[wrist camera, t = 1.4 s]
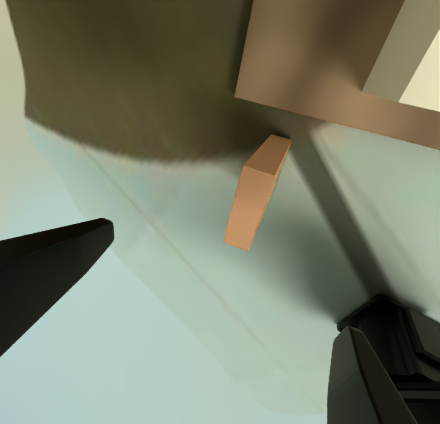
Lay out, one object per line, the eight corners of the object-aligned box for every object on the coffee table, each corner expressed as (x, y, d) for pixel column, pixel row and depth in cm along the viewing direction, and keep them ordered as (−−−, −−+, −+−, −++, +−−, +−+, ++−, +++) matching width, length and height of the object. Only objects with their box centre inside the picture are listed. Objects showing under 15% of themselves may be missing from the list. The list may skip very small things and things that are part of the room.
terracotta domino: (291, 139, 17) (274, 175, 11) (271, 196, 20) (248, 251, 14) (271, 134, 18) (242, 165, 11) (254, 190, 20) (223, 241, 14)
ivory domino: (454, -20, 11) (663, -176, 4) (390, 98, 13) (455, 115, 7) (416, -24, 11) (555, -176, 4) (361, 91, 14) (398, 102, 7)
